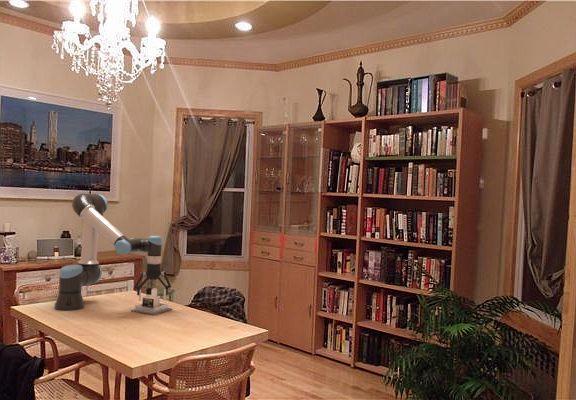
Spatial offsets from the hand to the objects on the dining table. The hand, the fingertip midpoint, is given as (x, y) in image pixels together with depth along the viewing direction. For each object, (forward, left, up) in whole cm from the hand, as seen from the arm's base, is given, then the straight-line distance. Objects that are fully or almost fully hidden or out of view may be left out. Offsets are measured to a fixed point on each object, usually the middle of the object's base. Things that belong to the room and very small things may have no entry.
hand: (152, 300), depth 266 cm
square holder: (0, 0, -6) cm, 6 cm away
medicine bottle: (0, 0, -5) cm, 5 cm away
